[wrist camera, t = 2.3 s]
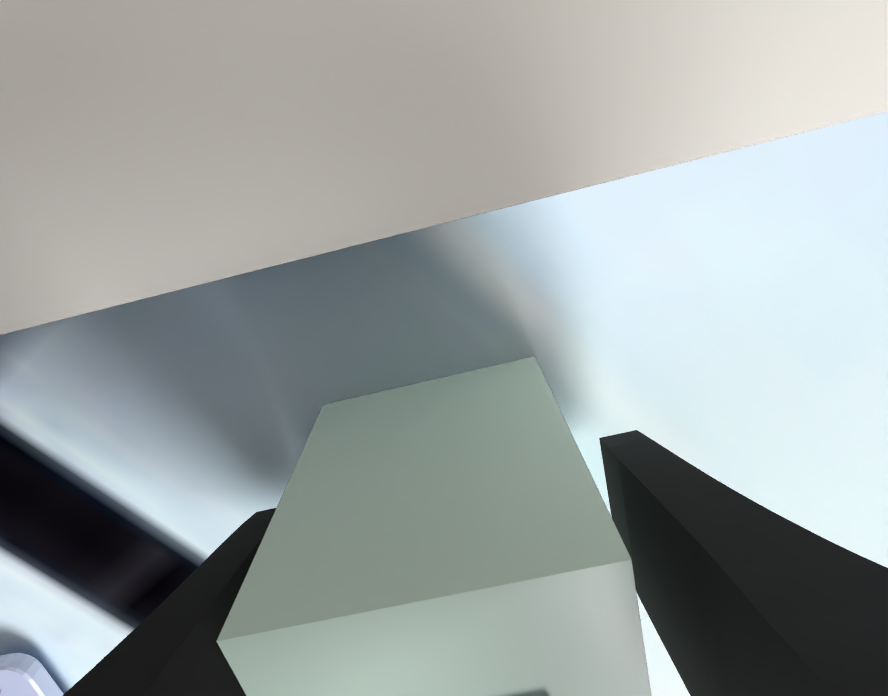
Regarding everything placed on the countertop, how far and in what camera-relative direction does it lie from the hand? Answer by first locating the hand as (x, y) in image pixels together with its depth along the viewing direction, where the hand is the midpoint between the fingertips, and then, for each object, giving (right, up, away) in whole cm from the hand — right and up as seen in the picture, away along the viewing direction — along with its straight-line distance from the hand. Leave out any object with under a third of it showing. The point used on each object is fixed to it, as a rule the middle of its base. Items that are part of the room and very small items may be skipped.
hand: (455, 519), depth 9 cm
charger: (0, +1, +1) cm, 2 cm away
